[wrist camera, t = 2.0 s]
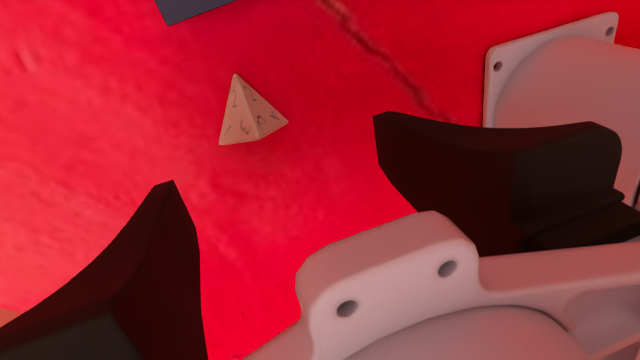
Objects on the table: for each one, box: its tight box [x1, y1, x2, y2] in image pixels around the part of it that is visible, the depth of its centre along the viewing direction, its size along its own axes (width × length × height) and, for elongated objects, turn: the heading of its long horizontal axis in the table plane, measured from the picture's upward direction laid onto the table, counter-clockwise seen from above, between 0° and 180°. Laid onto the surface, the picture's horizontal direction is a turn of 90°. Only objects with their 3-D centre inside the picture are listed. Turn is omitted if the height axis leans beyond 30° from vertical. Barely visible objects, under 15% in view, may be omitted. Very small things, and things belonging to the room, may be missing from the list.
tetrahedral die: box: [219, 74, 288, 145], centre depth 18 cm, size 4×3×3 cm
